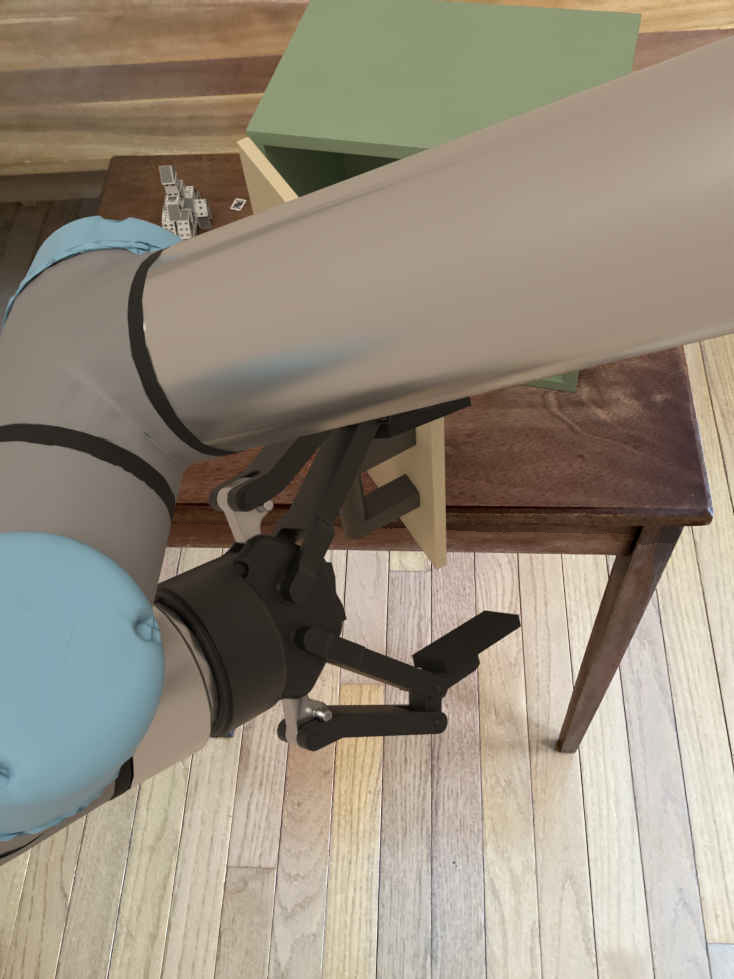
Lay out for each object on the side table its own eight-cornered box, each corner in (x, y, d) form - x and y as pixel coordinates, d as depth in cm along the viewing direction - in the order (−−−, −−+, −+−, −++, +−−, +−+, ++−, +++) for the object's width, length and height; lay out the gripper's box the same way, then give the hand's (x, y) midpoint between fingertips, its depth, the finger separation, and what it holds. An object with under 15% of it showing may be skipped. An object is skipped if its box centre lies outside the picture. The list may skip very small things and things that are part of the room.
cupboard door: (371, 606, 73) (339, 424, 52) (230, 386, 86) (160, 173, 65) (446, 564, 74) (443, 371, 54) (296, 354, 87) (248, 135, 67)
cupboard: (575, 392, 82) (615, 165, 62) (294, 351, 88) (245, 130, 67) (600, 251, 91) (641, 13, 71) (343, 222, 97) (313, -8, 76)
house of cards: (242, 256, 95) (226, 196, 89) (159, 262, 96) (137, 203, 89) (247, 197, 100) (232, 136, 94) (168, 203, 101) (148, 143, 94)
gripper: (54, 406, 42) (386, 313, 55) (206, 880, 47) (477, 692, 60) (129, 392, 36) (479, 292, 49) (292, 934, 41) (571, 713, 54)
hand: (478, 512), depth 55 cm, fingers open, 13 cm apart
